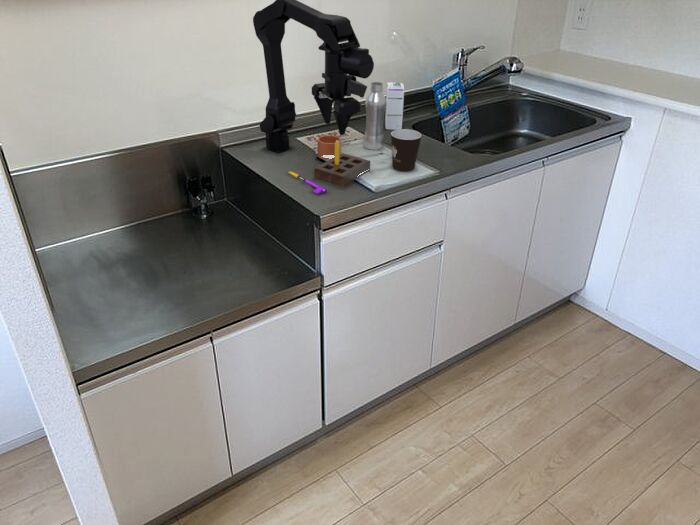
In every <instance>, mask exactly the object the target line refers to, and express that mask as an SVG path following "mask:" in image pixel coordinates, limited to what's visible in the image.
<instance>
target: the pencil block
mask: <svg viewBox="0 0 700 525" xmlns="http://www.w3.org/2000/svg"><path fill="white" fill-rule="evenodd" d="M334 163H335V157H334V158H332V159H330V160H326V161H325V162H323V163H321V164H319V165H317V166H316V167H314V170H313V171H314V179H316V180H318V181H322V182H325V183H328V184H331V185H335V186H339V187H342V188H344V187H346V186H347V185H349V184H351V183H352V182H354V181H356V180H358V179H359V178H360V177H362V176H364V175H366V174H367V173H370V172H371V160H369V159H365V158H362V157H359V156H354V155H351V154H347V153H344V152H341V154H340V163H339V165H336V164H334ZM368 169H369V170H368ZM366 170H368V171H366ZM364 171H366V172H364ZM362 172H364V173H363V174H361V175H359V174H360V173H362ZM358 175H359V176H358ZM357 176H358V177H357Z"/></svg>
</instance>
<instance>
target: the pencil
mask: <svg viewBox="0 0 700 525" xmlns="http://www.w3.org/2000/svg"><path fill="white" fill-rule="evenodd" d="M339 163H340V143H339V140H338V139H337V140H336V142H335V163H334V164H336V165H339Z"/></svg>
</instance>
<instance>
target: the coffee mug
mask: <svg viewBox="0 0 700 525" xmlns="http://www.w3.org/2000/svg"><path fill="white" fill-rule="evenodd" d="M421 139H422V133H421V132H420V131H418V130H414V129H409V128H402V129H399V130H391V132H390V142H391V163H392V169H393V170H395V171H397V172H402V173H405V172H406V173H408V172H412V171H414V170H415V167H416V162H417V158H418V154H419V148H420V144H421Z"/></svg>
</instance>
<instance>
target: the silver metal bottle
mask: <svg viewBox="0 0 700 525" xmlns="http://www.w3.org/2000/svg"><path fill="white" fill-rule="evenodd" d="M369 90H370V92H369V94H368V95H367V96H366V98H365V100H364V102H365V119H366V120H365V130H364V135H363V141H362V142H363V146H364V148H366V150H371V151H377V150H381V149H382V148H383V146H384V143H385V135H384V122H385V113H386V95H385V94H384V93H383V91H384V84H383V83H382V82H380V81H373V82H370V87H369Z"/></svg>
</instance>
